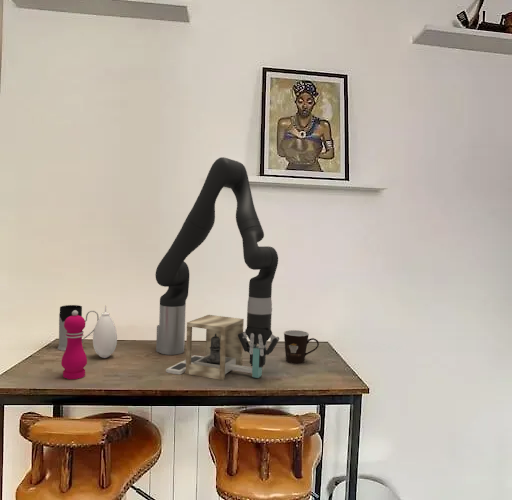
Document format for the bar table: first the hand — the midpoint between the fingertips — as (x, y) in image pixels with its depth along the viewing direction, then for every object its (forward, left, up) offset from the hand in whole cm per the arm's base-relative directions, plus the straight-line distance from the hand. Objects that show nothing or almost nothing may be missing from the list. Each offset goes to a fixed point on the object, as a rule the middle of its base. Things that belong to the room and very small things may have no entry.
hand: (257, 366), depth 150 cm
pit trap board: (-25, 0, -4) cm, 25 cm away
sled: (-9, 0, -3) cm, 10 cm away
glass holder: (-70, 0, -4) cm, 70 cm away
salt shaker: (-15, 0, -4) cm, 15 cm away
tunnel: (-15, 0, -4) cm, 15 cm away
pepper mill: (-49, -25, -4) cm, 55 cm away
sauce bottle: (-54, -5, -4) cm, 55 cm away
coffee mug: (+7, +22, -4) cm, 23 cm away
